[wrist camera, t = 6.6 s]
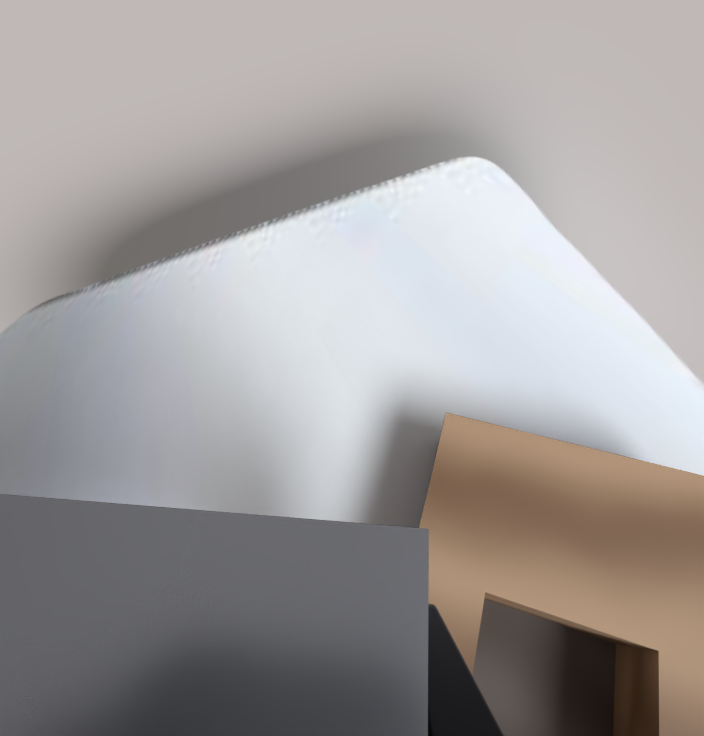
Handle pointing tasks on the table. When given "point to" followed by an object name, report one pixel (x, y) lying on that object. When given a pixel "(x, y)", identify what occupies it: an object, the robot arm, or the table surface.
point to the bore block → (569, 582)
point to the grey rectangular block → (208, 623)
